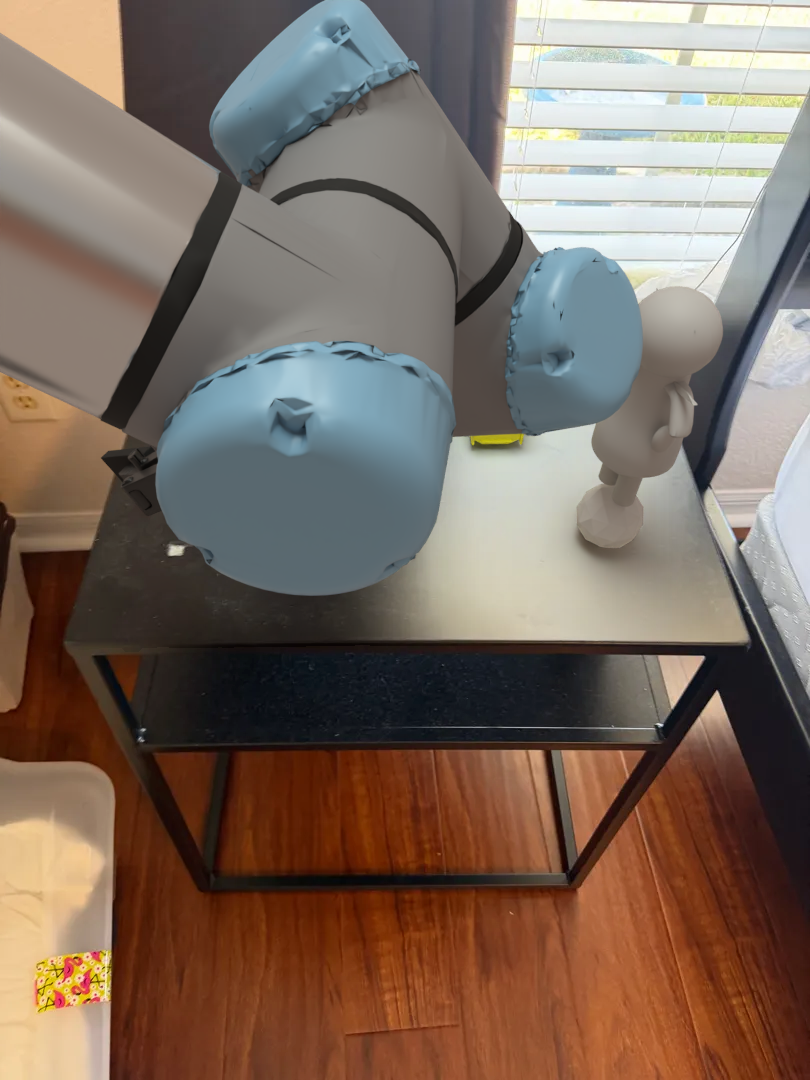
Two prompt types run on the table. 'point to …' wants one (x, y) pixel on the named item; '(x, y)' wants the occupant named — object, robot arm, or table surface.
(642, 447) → the toy character
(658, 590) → the table surface
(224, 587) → the table surface
